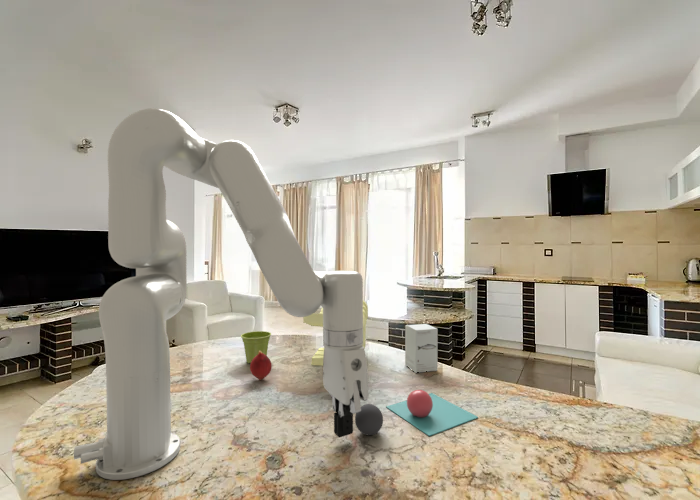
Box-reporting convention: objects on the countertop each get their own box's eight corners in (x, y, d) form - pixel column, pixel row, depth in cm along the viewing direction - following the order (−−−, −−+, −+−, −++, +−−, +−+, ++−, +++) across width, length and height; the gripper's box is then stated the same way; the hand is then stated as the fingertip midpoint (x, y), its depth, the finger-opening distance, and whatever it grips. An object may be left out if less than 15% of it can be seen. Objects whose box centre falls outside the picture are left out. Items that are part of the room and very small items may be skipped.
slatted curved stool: (359, 377, 96) (358, 314, 96) (303, 375, 98) (303, 313, 98) (367, 346, 126) (367, 298, 126) (325, 345, 128) (325, 297, 128)
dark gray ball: (384, 405, 66) (391, 430, 67) (368, 394, 71) (375, 417, 72) (361, 421, 63) (369, 446, 64) (346, 408, 68) (354, 432, 69)
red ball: (434, 390, 73) (440, 412, 73) (417, 381, 77) (423, 402, 78) (415, 404, 70) (422, 427, 71) (398, 394, 75) (405, 415, 76)
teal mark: (429, 436, 66) (429, 435, 66) (386, 407, 78) (386, 406, 78) (478, 417, 73) (478, 416, 73) (431, 393, 85) (431, 392, 85)
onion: (274, 376, 98) (274, 348, 98) (267, 384, 92) (267, 354, 92) (254, 375, 98) (254, 347, 98) (246, 383, 92) (246, 353, 92)
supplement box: (415, 373, 99) (415, 330, 99) (404, 365, 106) (404, 324, 106) (438, 371, 101) (438, 328, 101) (426, 363, 108) (426, 322, 108)
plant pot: (239, 359, 113) (239, 332, 113) (268, 355, 117) (267, 329, 116) (243, 368, 104) (243, 339, 104) (274, 363, 108) (274, 336, 108)
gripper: (382, 343, 60) (383, 447, 60) (341, 326, 73) (341, 412, 73) (345, 349, 56) (345, 461, 56) (308, 330, 69) (309, 421, 69)
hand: (343, 433), depth 65 cm, fingers closed
